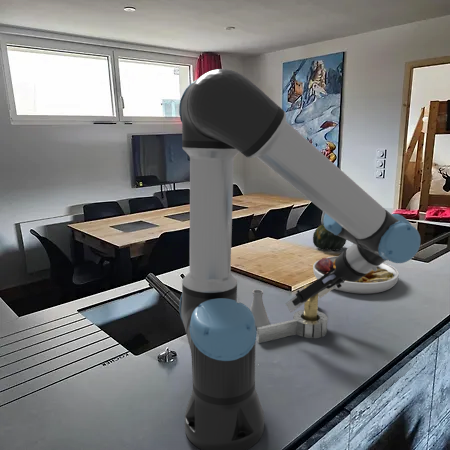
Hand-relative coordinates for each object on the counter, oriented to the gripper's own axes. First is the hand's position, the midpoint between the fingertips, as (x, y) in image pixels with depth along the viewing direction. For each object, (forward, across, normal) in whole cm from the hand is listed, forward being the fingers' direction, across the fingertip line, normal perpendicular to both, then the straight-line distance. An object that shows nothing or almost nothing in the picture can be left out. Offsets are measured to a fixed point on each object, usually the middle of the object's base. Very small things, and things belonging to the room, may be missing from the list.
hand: (303, 300), depth 112 cm
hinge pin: (+4, 0, -8) cm, 9 cm away
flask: (+13, -8, +2) cm, 15 cm away
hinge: (+8, 0, -4) cm, 8 cm away
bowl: (+12, +43, 0) cm, 45 cm away
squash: (+33, +72, +21) cm, 81 cm away
